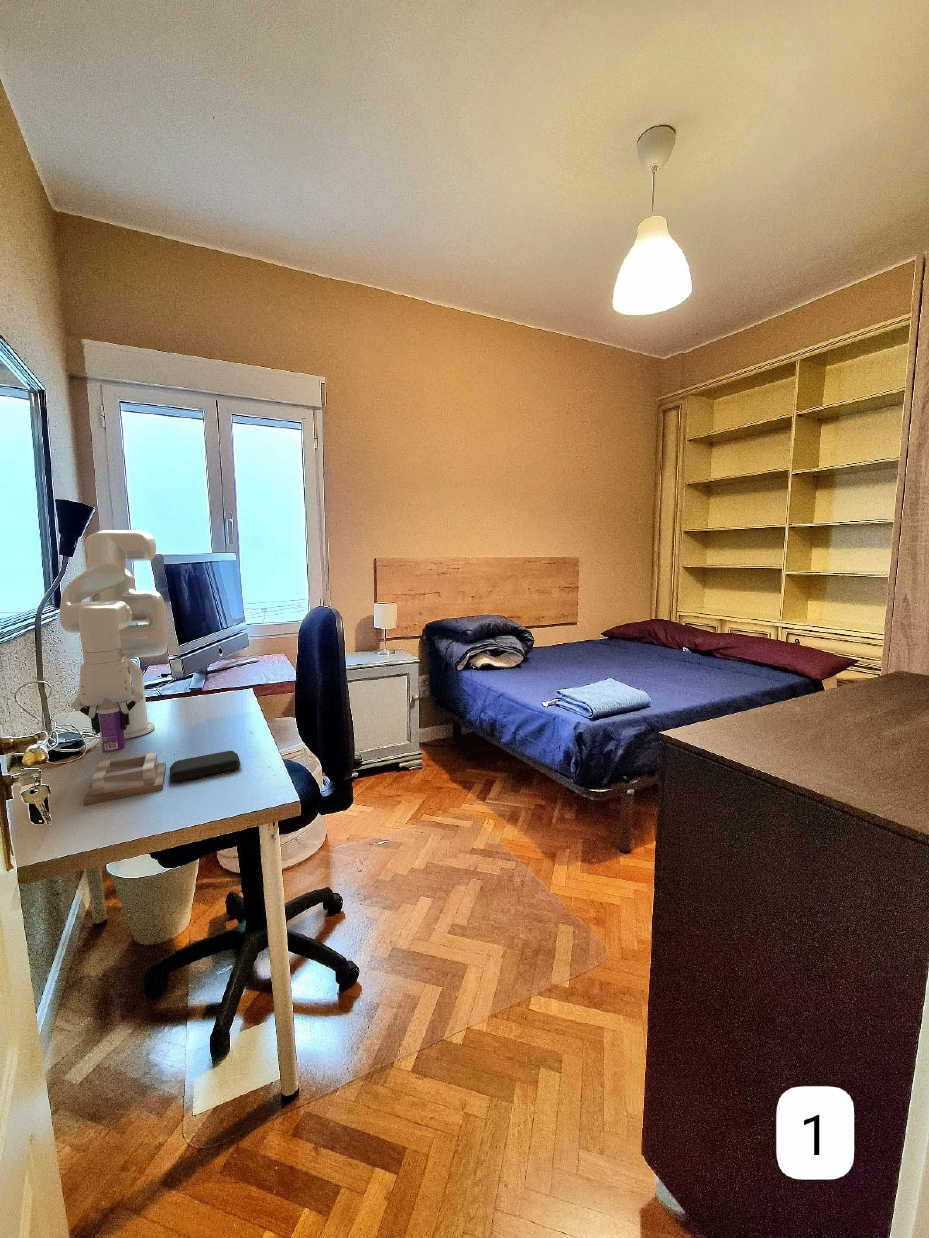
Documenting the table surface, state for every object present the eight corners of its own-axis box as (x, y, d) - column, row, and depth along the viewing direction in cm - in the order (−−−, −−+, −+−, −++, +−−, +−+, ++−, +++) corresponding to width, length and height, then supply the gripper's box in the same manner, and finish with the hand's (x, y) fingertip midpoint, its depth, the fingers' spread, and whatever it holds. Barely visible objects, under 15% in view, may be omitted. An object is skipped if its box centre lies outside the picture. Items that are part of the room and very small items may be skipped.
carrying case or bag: (237, 757, 128) (170, 770, 121) (236, 745, 128) (169, 758, 121) (241, 772, 119) (169, 787, 112) (240, 759, 118) (168, 774, 111)
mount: (95, 779, 116) (93, 760, 115) (166, 766, 122) (164, 748, 122) (83, 805, 103) (81, 783, 103) (162, 789, 110) (160, 768, 109)
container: (130, 747, 124) (123, 689, 122) (112, 755, 120) (105, 694, 118) (115, 745, 126) (108, 687, 123) (97, 753, 121) (90, 693, 119)
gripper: (146, 650, 126) (153, 719, 129) (61, 657, 119) (71, 731, 121) (143, 655, 120) (151, 728, 123) (54, 664, 112) (64, 742, 115)
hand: (111, 729), depth 122 cm, fingers closed on container, 4 cm apart
